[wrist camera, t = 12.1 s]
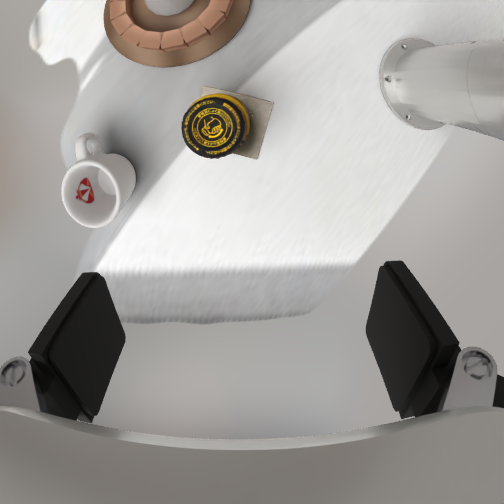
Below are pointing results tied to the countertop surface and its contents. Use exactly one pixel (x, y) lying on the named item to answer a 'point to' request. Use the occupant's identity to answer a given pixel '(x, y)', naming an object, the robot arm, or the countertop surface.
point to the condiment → (225, 124)
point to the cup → (96, 184)
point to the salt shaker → (168, 6)
